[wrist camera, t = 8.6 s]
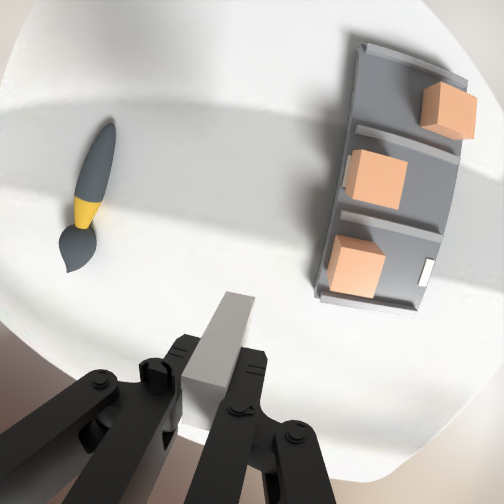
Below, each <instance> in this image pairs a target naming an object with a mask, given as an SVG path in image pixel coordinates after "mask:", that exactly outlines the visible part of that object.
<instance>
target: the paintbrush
mask: <svg viewBox="0 0 504 504" xmlns="http://www.w3.org/2000/svg"><path fill="white" fill-rule="evenodd" d="M114 147H115V127H114V125H113V124H108V125H107V126H106V127H105V128H104V129H103V130H102V131H101V132H100V134H99V135H98V136H97V138H96V140H95V141H94V143H93V145H92V147H91V148H90V150H89V152H88V155H87V157H86V159H85V161H84V164H83V166H82V169H81V172H80V175H79V178H78V181H77V185H76V189H75V194H74V221H75V224H73V225H70V226H68V227H67V228H66V229H65V230H64V231H63V232H62V234H61V236H60V239H59V249H60V252H61V255H62V258H63V260H64V262H65V264H66V268H67V273H68V272H72V271H75V270H78V269H80V268H81V267H83V266H84V265H85V264H86V263H87V262H88V261H89V260H90V259H91V258H92V256H93V254H94V252H95V250H96V238H95V235H94V233H93V232H92V230H91V229H90V228H89V225H90V223H91V221H92V220H93V218H94V216H95V214H96V212H97V210H98V208H99V206H100V204H101V202H102V200H103V197H104V194H105V190H106V186H107V183H108V179H109V175H110V170H111V165H112V160H113V154H114Z"/></svg>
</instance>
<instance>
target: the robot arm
mask: <svg viewBox="0 0 504 504" xmlns="http://www.w3.org/2000/svg"><path fill="white" fill-rule="evenodd" d="M254 302H255V297H251V296H246V295H241V294H237V293H232V292H227V291H226V293H225V295H224V297H223V298H222V300H221V302H220V304H219V306H218V308H217V310H216V311H215V313H214V315H213V317H212V319H211V321H210V323H209V325H208V326H207V328H206V330H205V332H204V334H203V336H202V338H198V337H195V336H191V335H187V334H184V335H182V336H181V337H179V338H177V339H176V340H175V342H174V343H173V345H172V347H171V348H170V350H169V351H168V353H167V354H166V356H165V357H164V359H161V358H149V359H146V360H144V361H142V362H141V363H140V364H139V371H140V380H141V382H137V383H131V382H121V381H118V380H117V377H116V376H115V375H114V374H113V373H112V372H110V371H108V370H102V369H99V370H93V371H91V372H89V373H87V374H86V375H85V376H83V377H82V378H80V379H79V380H77V381H76V382H75V383H73V384H72V385H70V386H69V387H68V388H66V389H65V390H63V391H62V392H60V393H59V394H57V395H56V396H55V397H53V398H52V399H51V400H49V401H48V402H46V403H45V404H43V405H42V406H40V407H39V408H38V409H36V410H35V411H33V412H32V413H30V414H29V415H27V416H26V417H25V418H23V419H22V420H20V421H19V422H17V423H16V424H14V425H13V426H12V427H10V428H9V429H8V430H6V431H4V432H3V433H2V434H0V504H45V503H46V502H47V501H49V500H50V499H51V498H52V497H53V496H54V495H56V494H57V493H58V492H59V491H60V490H61V489H63V488H64V487H65V486H66V485H67V484H68V483H69V482H71V481H72V480H73V479H74V478H75V477H76V476H77V475H79V474H80V473H81V474H80V475H79V477H78V478H77V480H76V482H75V483H74V485H73V486H72V488H71V489H70V491H69V493H68V494H67V496H66V497H65V499H64V501H63V502H62V504H146V503H147V500H148V498H149V496H150V494H151V492H152V489H153V487H154V485H155V482H156V480H157V478H158V476H159V474H160V471H161V469H162V467H163V465H164V462H165V460H166V458H167V456H168V453H169V451H170V449H171V447H172V444H173V442H174V440H175V438H176V435H177V432H178V423H179V421H180V419H181V416H182V423H183V424H186V425H190V426H193V427H197V428H201V429H204V430H208V431H210V432H209V435H208V437H207V440H206V443H205V446H204V449H203V452H202V455H201V457H200V460H199V463H198V465H197V468H196V471H195V474H194V477H193V480H192V482H191V485H190V488H189V490H188V493H187V496H186V498H185V501H184V504H238V503H239V499H240V495H241V490H242V486H243V482H244V477H245V473H246V468H247V465H250V466H251V467H253V468H255V469H258V470H260V471H261V472H262V480H263V487H264V495H265V502H266V504H336V501H335V497H334V494H333V491H332V487H331V484H330V480H329V477H328V474H327V470H326V467H325V463H324V460H323V457H322V453H321V450H320V447H319V443H318V440H317V437H316V433H315V432H314V430H313V428H312V427H311V426H309V425H308V424H307V423H304V422H302V421H297V420H290V421H285V422H283V423H279V422H277V421H275V420H273V419H271V418H269V417H268V416H267V415H265V414H264V412H263V411H262V410H261V407H260V398H261V393H262V387H263V382H264V377H265V371H266V366H267V360H268V359H267V357H266V355H265V352H264V351H260V350H255V349H250V348H246V345H247V341H248V336H249V331H250V325H251V319H252V313H253V307H254Z"/></svg>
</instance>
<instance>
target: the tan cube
mask: <svg viewBox="0 0 504 504" xmlns="http://www.w3.org/2000/svg"><path fill="white" fill-rule="evenodd" d="M385 257H386V255H385V254H384V253H383V252H382V250H381V249H380V248H379V247H378V245H377V244H376V243H375V242H371V241H366V240H361V239H357V238H352V237H347V236H342V235H337V234H336V236H335V240H334V245H333V249H332V253H331V257H330V261H329V265H328V269H327V278H328V283H329V288H330V291H335V292H340V293H346V294H351V295H357V296H363V297H368V298H373V296H374V293H375V290H376V287H377V284H378V280H379V277H380V274H381V271H382V268H383V264H384V261H385Z"/></svg>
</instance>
